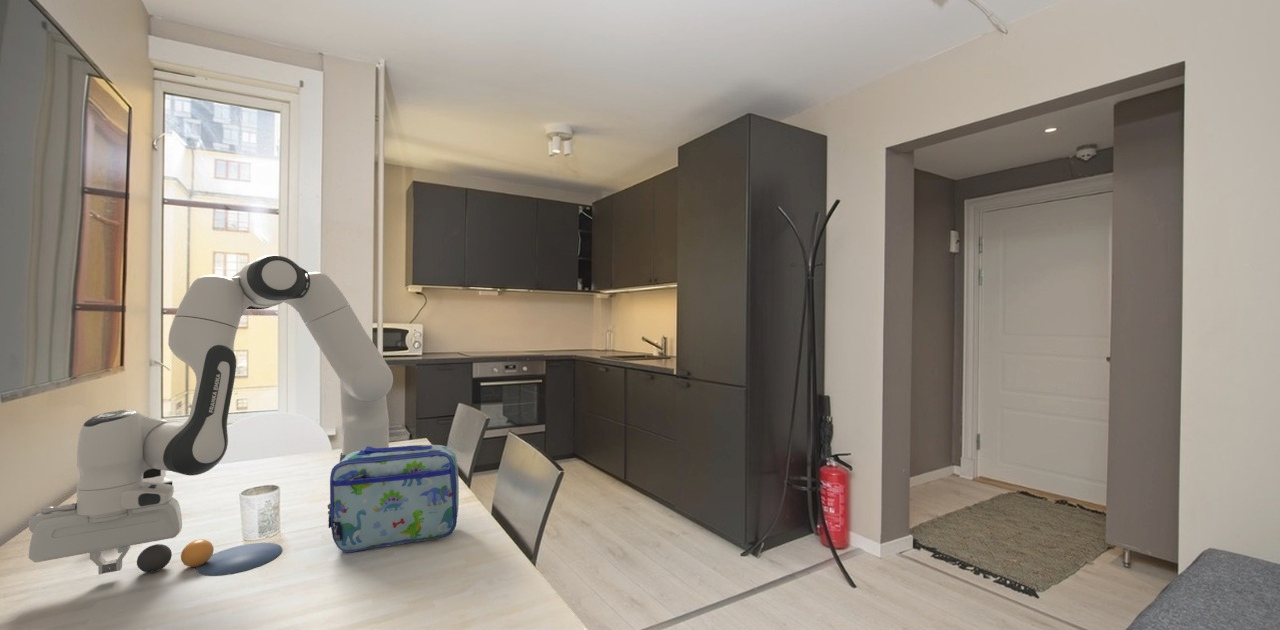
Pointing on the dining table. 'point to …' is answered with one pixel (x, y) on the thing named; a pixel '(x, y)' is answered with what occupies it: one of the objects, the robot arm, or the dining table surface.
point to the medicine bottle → (156, 476)
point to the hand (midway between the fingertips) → (110, 571)
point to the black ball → (154, 558)
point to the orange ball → (197, 553)
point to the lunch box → (393, 496)
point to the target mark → (240, 558)
